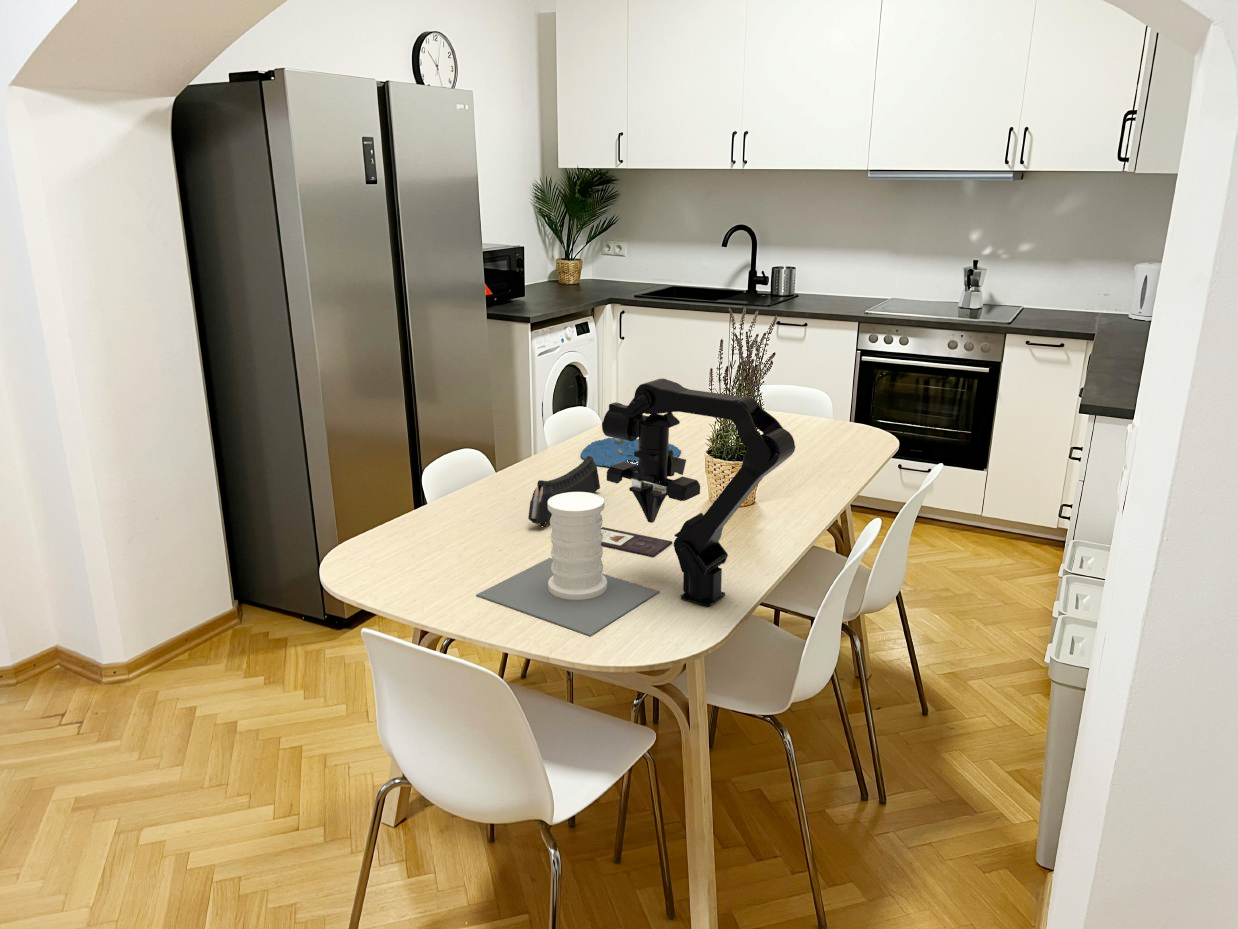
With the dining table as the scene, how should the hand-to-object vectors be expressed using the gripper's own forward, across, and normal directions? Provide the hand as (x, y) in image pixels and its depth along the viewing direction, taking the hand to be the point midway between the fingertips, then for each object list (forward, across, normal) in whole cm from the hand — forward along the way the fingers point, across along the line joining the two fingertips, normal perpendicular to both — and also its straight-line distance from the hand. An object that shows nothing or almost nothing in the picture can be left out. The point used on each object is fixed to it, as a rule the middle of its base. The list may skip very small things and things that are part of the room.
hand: (651, 522), depth 175 cm
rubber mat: (+13, +9, +14) cm, 21 cm away
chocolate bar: (+14, +16, -14) cm, 25 cm away
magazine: (+14, +41, -21) cm, 48 cm away
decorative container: (+13, +9, +11) cm, 20 cm away
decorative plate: (+14, +57, -68) cm, 90 cm away
